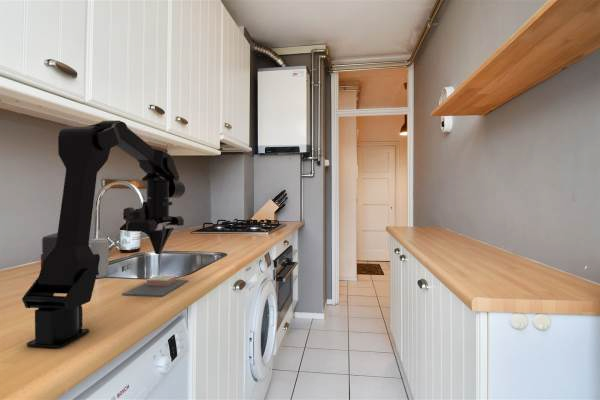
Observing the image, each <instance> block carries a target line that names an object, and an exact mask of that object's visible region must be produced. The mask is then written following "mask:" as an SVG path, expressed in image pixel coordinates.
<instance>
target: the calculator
mask: <svg viewBox="0 0 600 400" xmlns="http://www.w3.org/2000/svg"><path fill="white" fill-rule="evenodd" d="M57 234H58V232H56V233H52V234H48V235H45V236H42V238H41V254H40V268H41V267H42V264H43V261H44V259H45V257H46V256H47V255H48V254H49V253H50V251H51V250H52V249H53V248H54V246H55V245H56V241H57Z"/></svg>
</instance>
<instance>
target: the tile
mask: <svg viewBox="0 0 600 400" xmlns="http://www.w3.org/2000/svg"><path fill="white" fill-rule="evenodd" d="M176 280H177V276H176V275H170V274H169V275H166V274H162V275H161V274H156V275H155V276H152V277H150V278H148V279H146V282H147V285H156V286H168V285H170V284H171V283H173V282H175V281H176Z"/></svg>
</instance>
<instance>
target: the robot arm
mask: <svg viewBox="0 0 600 400" xmlns="http://www.w3.org/2000/svg"><path fill="white" fill-rule="evenodd" d="M57 137H58V139H57V142H58V143H57V146H58V149H57V150H58V152H57V153H58V156H59V158H60V160H61V162H62V164H63V166H64V167H65V176H64V184H63V191H62V196H61V197H62V198H61V205H60V211H59V220H58V228H57V233H58V234H57V241H56V245H55V246H54V248H53V249H52V250H51V251H50V253H49V254H48V255H47V256H46V257H45V259H44V261H43V264H42V267H41V266H40V270H39V271H40V272H39V273H38V274H39V275H38V277H37V278H36V279H35V281H34V282H33V283H32V284H31V286H30V287H29V288H28V290H27V291H26V293H24V294H23V296H22V298H21V301H22V303H23V304H24V305H23V306H24V307H25V309H30V308H31V309H35V310H34V338H33V339H31V340H30V341H28V342H27V343H26V346H27V347H37V348H38V347H39V348H52V349H53V348H54V349H55V348H56V349H59V348H62V347H64V346H66V345H68V344H70V343H71V342H73V341H75V340H77V339H79V338H81V337H82V336H84V335H86V334H87V333H89V332H90V328H83V326H84V325H83V305H86V304H87V303H89V302H91V299H92V296H93V292H94V288H95V284H96V280H97V278H96V275H99V272H98V265H99V261H100V256H99V254H93V253H92V251H91V249H90V237H91V236H90V234H91V226H92V219H93V209H94V203H95V202H94V201H95V194H96V186H97V185H96V184H97V177H98V172H99V171H100V170H101V169H102V168H103V167H104V165H105V164H106V163H107V162H108V159H109V156H110V152H111V149H112V148H113V147H115V146H116V147H117V148H119V149H121V150H122V151H124V152H125V153H126V154H128V155H129V156H131V157H132V158H134V159H135V160H136V161H137V162H138V167H139V168H140V169H141V170H143V172H144V173H145V175H144V176H143V177H142V178H141V180H142V182H146V201H143V202H142V203H141V207H140V208H134V207H132V206H130V207H125V208H124V209H123V213H122V216H123V217H122V218H123V220H125V221H127V223H126V232H141V233H143V234H145V235H147V236H148V239H149V240H150V243H151V246H152V247H153V250H154V254H155V255H160V254H161V253H162V252H163V249H164V247H165V245H166V243H167V241H168V240H169V237H170V236H171V233H173V231H174V230H175V228H174V227H170V226H178V227H180V226H184V223H185V221H184V218H183V217H182V216H181V215H178V216H177V215H170V206H173V201H170V199H178V198H181V197H182V196H183V195H185V192H186V187H185V185H184V183H183V181H180V176H179V173H178V170H177V167H176V164H175V162H174V161H175V160H174V159H173V157H172V156H171V154H169V153H168V152H166V151H165V150H162V149H161V150H160V149H158V148H157V149H156V148H155V147H152V146H151V145H150V144H149V143H147V142H146V141H145V140H143V138H141V137H140V136H139V135H138V134H136V133H135V132H133V131H132V130H131V129H130V128H129V127H128V126H127V123H126V122H124V121H121V120H118V119H117V120H103V121H100V122H97V123H93V124H90V125H85V126H66V127H65V128H63V129H61V130H60V131H59V133H58V136H57ZM55 294H61V295H55ZM62 294H66V296H64V295H62Z"/></svg>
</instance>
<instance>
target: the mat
mask: <svg viewBox="0 0 600 400" xmlns="http://www.w3.org/2000/svg"><path fill="white" fill-rule="evenodd" d="M186 282H187V283H188V282H189V280H187V279H176V281H175V282H173V283H171V284H170V285H168V286H156V285H147V281H146V282H145V283H142V284H140V285H138V286H136V287H134V288H132V289H129V290H127V291H125V292H122V294H121V295H122V296H130V297H131V296H132V297H133V296H137V297H156V298H157V297H158V298H159V297H161V298H163V297H165V296H166V295H168V294H169V292H170V293H171V292H173V291H174V289H175V290H176V289H178V288H180V287H182V286H183V285H185V284H187V283H186ZM184 283H185V284H184ZM179 286H180V287H179Z"/></svg>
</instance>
